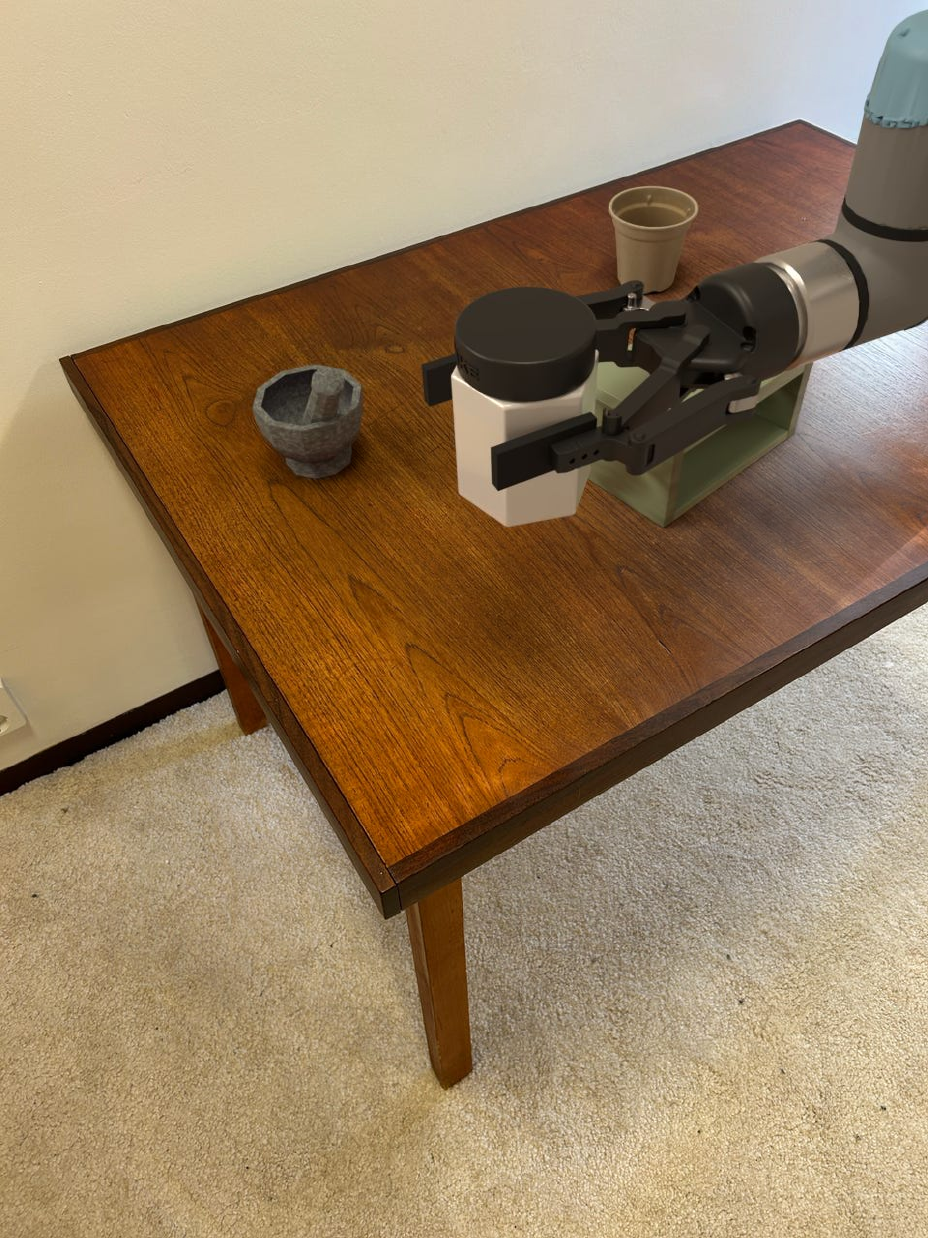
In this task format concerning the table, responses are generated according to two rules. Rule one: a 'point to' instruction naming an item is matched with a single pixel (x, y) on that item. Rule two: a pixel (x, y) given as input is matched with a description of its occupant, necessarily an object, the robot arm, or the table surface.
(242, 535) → the table surface
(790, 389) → the olive green cubby
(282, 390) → the mortar and pestle
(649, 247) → the flower pot
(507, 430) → the jar
